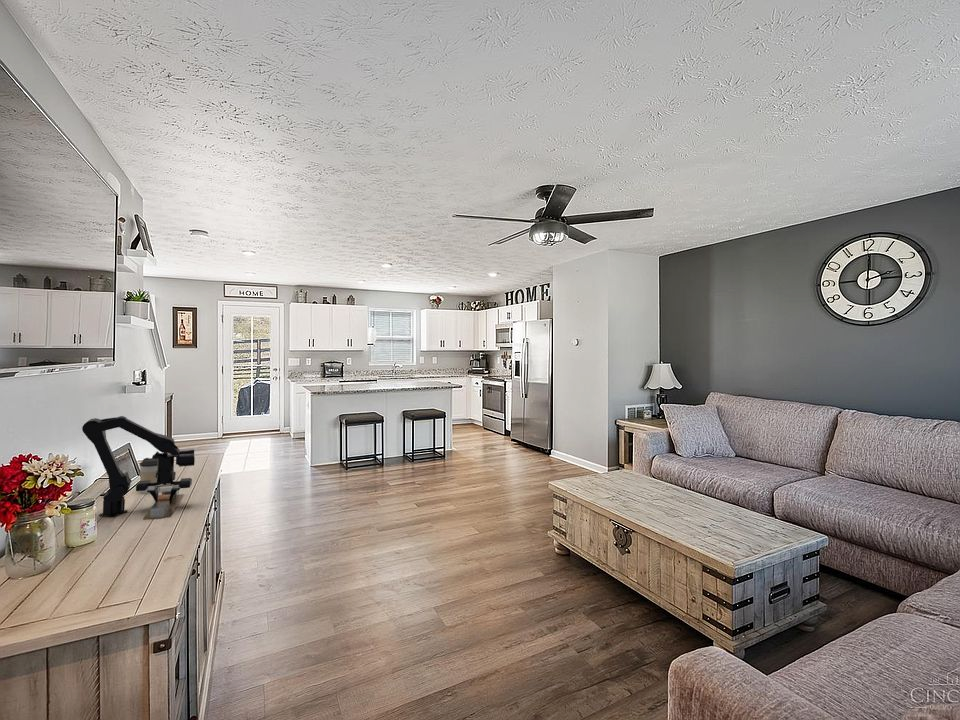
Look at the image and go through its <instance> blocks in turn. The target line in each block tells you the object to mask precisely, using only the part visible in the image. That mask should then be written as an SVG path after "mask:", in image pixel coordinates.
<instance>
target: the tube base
mask: <svg viewBox="0 0 960 720" xmlns="http://www.w3.org/2000/svg"><path fill="white" fill-rule="evenodd" d="M172 488H173V487H172V486H167V487H164V488H163V490H162V491H161V495H167V494H171V489H172ZM184 496H185V495H184V493H181V494H180V490H178V491H176V493H175V495H174V498H173V500H172V503H171V505H170V506H169V503H170V500H167V501H156V502H155V501H154V504H153V505H152V506H151V507H150V509H149V510H148V511H147V513H146V514H145V515H144V517H143V520H151V519H152V520H153V519H164V518H166V517H167V518H171V517H172V515H173V514H174V512H175V511H176V509H177V507H178V506H179V504H180V502H181V500H182V499H183V497H184Z"/></svg>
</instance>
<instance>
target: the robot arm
mask: <svg viewBox="0 0 960 720" xmlns="http://www.w3.org/2000/svg"><path fill="white" fill-rule="evenodd" d="M117 428H119V429H123V430H124V431H126V432H128V433H130V434H131V435H134V436H136V437H138V438H140V439H142V440H144V441H146V442H148V443H149V444H150V445H151V446H152V447H154V448H155V449H156V450H157V451H156V452H155V453H154V454H152V457H151V458H158V463H157V471H156V478H157V482H154V483H151V480H146V481H139V482H138V483H137V484H135V485H136V486H135V491H136V492H141V491H145V490H146V489H147V488H148V490H147V492H149V493H148V494H150V495H151V497H152V498H153V501H154V503H155V502H156V501H158V496H159V495H160V494H159V491H158V488H159V487H160V488H161V487H162V488H163V487H164V488H166V487H173V488H172V489H171V494H170V505H171V503H172V500H173V498H174V495H175V493H176V491H178V490H179V491H180V490H181V489H189V488H191V486H192V485H193V479H192V478H191V477H185V478H183V477H182V478H181V479H180V480H176V471H175V466H176V465H177V466H178V467H194V466H195V462H196V458H195V449H194V448H193V449H187V450H186V449H185V450H180V448H179V447H178V446H177V445H176V442H175V439H174V438H173V437H171V436H168V435H164V434H161V433H158V432H154V431H152V430H151V429H149V428H146V427H144V426H143V425H140V424H139V423H137V422H135V421H133V420H131V419H129V418H127V416H124V415H120V416H117V417H110V418H109V417H108V418H103V419H102V418H101V419H100V418H95V417H93V418H90V419H88V420H87V421H86V422H85V423H83V425H82V427H81V430H82V433H83V435H85V436H86V438H87V439H88V440H89V441H90V442H91V443H92V444H93V445H94V447H95V450H96V452H97V454H98V456H99V458H100V460H101V463H102V465H103V467H104V470H105V472H106V475H107V477H108V485H109V489H108V490H107V491H106V492H105V494H104V496H103V497H102V499H103V503H102V512H101V513H99V515H98V516H100V517H109V518H114V517H118V516H120V515H122V514H125V513H127V512H128V509H125V502H126V500H125V495H126V494H127V493H128V492H129V490H130V489H131V483H132V479H131V478H130V476H129V472H128V471H127V472H125V473H124V472H123V471H122V470H121V468H120V466H119V464H118V462H117V459H116V457H115V455H114V453H113V450H112V448H111V446H110V445H109V442H108V439H107V433H106V432H107V431H109V430H112V429H117ZM159 484H160V485H159Z"/></svg>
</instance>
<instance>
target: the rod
mask: <svg viewBox="0 0 960 720" xmlns="http://www.w3.org/2000/svg"><path fill="white" fill-rule="evenodd" d="M158 495H159V496H158V501H167V500H170V494H167V495H162V494H158ZM169 506H170V503H169Z"/></svg>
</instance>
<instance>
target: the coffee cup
mask: <svg viewBox="0 0 960 720" xmlns="http://www.w3.org/2000/svg"><path fill="white" fill-rule="evenodd" d="M157 463H158V458H152V457H145V458H143V459H142V460H141V462H140V463H139V468H140V469H139V477H140V481H146V480H151V483H154V482H157V478H156V471H157ZM140 481H139V482H140ZM159 485H161V484H159ZM160 488H161V487H159V488H158V492H159V491H160ZM147 490H148V488H147V489H146V490H145V491H140V492H141V493H142V494H150V493H149V492H147Z"/></svg>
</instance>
